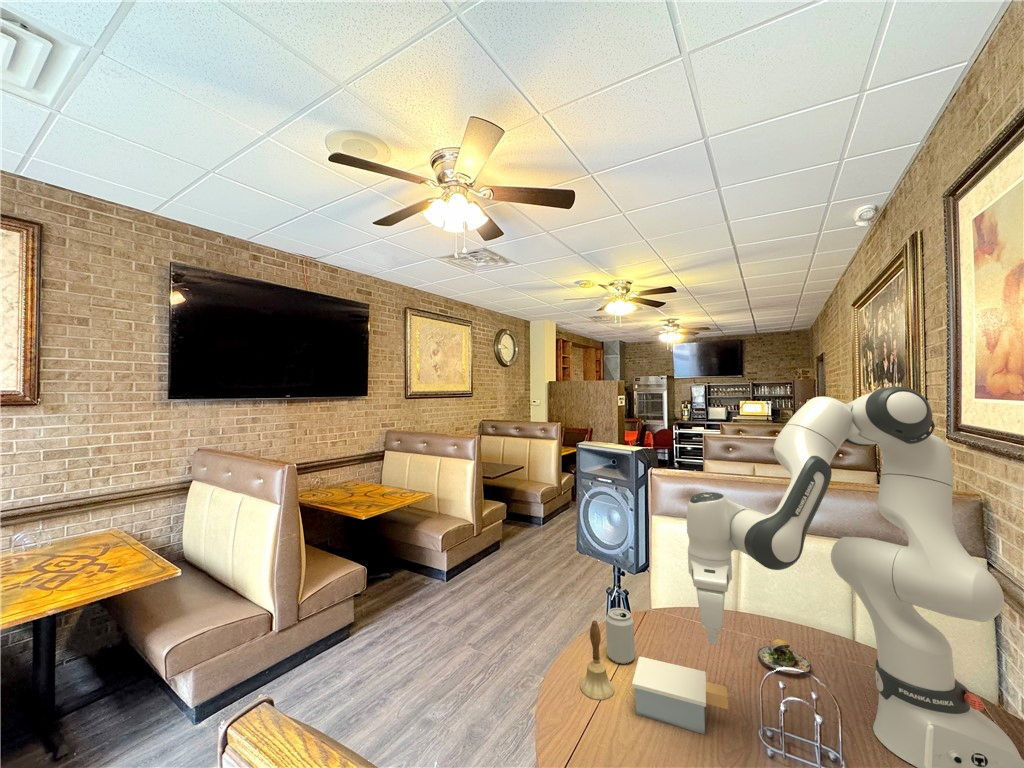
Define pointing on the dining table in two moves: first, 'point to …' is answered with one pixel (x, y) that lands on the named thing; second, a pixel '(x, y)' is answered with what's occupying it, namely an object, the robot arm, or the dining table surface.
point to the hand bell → (596, 671)
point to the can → (620, 635)
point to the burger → (782, 657)
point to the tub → (670, 710)
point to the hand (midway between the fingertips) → (712, 631)
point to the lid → (678, 683)
